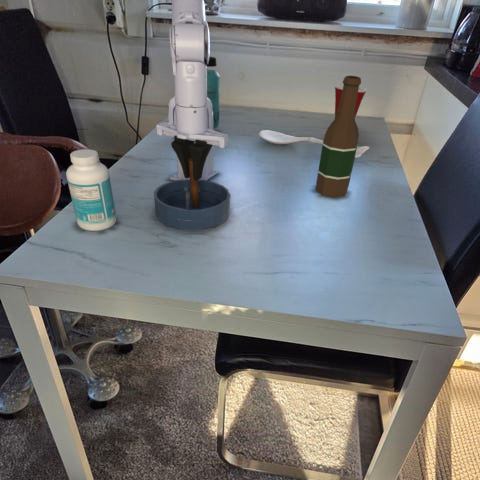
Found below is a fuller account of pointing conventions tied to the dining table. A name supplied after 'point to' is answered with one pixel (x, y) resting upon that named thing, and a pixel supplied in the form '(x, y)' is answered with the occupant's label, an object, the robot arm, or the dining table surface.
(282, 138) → the spoon
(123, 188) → the dining table surface
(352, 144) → the beer bottle
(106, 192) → the pill bottle
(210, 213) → the bowl
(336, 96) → the plastic cup
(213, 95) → the beverage bottle
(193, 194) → the stirring stick
